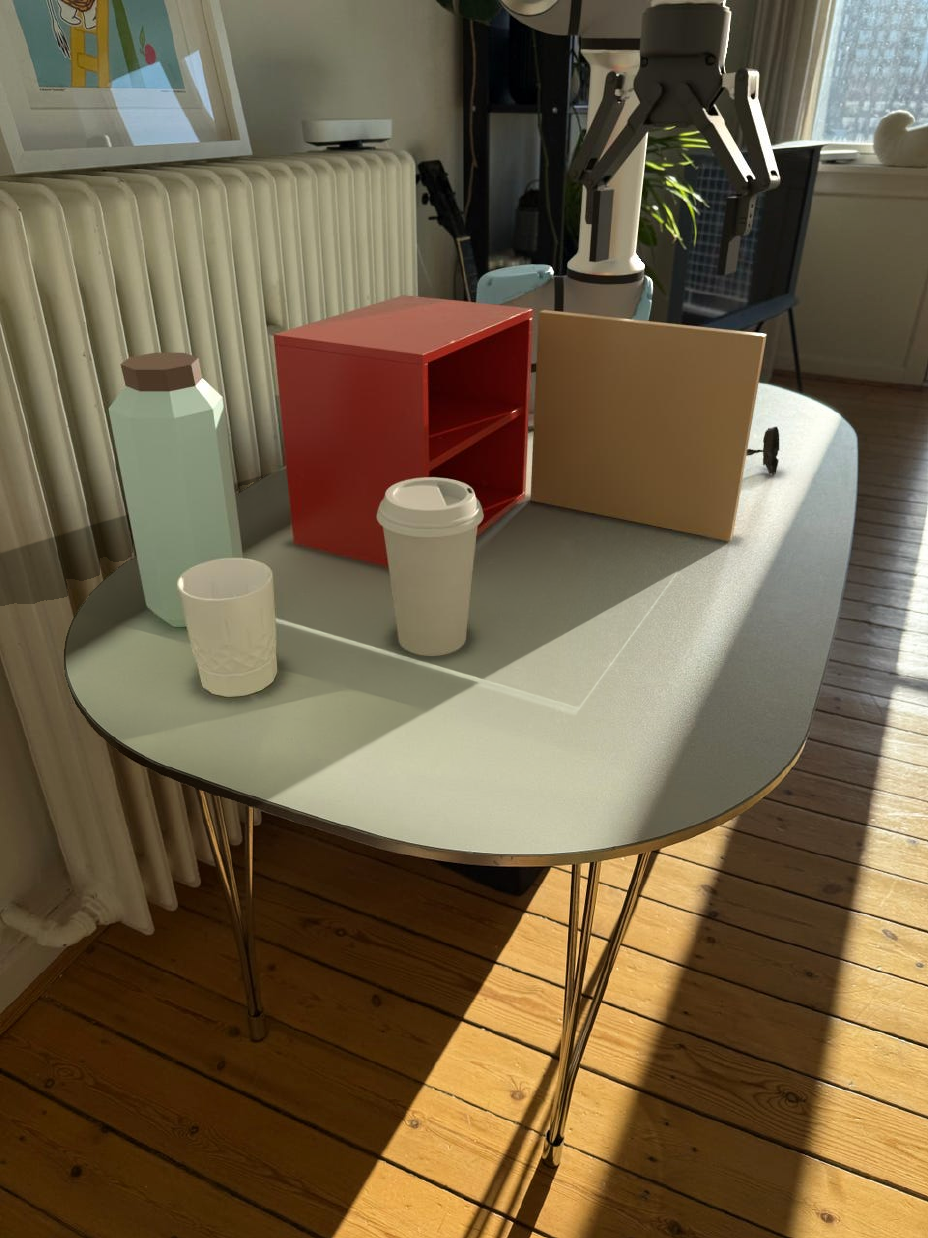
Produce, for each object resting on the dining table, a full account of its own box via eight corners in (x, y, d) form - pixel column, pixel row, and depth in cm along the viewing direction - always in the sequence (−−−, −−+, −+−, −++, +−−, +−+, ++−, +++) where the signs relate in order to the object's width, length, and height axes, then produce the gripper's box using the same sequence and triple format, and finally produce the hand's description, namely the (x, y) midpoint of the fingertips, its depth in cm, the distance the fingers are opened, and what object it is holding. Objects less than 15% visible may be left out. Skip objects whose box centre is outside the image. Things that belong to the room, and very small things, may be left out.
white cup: (176, 677, 81) (158, 578, 76) (249, 644, 86) (237, 549, 81) (227, 713, 76) (211, 609, 71) (301, 675, 81) (291, 576, 76)
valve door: (556, 480, 124) (566, 299, 112) (746, 516, 113) (780, 321, 101) (530, 500, 117) (538, 311, 105) (729, 541, 106) (763, 336, 94)
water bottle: (143, 595, 94) (96, 353, 82) (238, 578, 98) (207, 343, 85) (154, 640, 86) (104, 380, 74) (258, 620, 90) (227, 368, 77)
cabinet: (525, 498, 118) (533, 308, 106) (426, 577, 98) (422, 354, 86) (408, 474, 125) (403, 294, 113) (293, 544, 105) (273, 334, 93)
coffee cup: (471, 670, 82) (472, 518, 74) (370, 659, 84) (361, 509, 76) (489, 619, 90) (492, 478, 83) (397, 610, 92) (392, 470, 84)
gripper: (848, -1, 74) (799, 274, 84) (583, 15, 87) (569, 251, 97) (818, -10, 68) (770, 284, 79) (541, 9, 81) (531, 259, 92)
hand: (659, 266), depth 88 cm, fingers open, 13 cm apart
